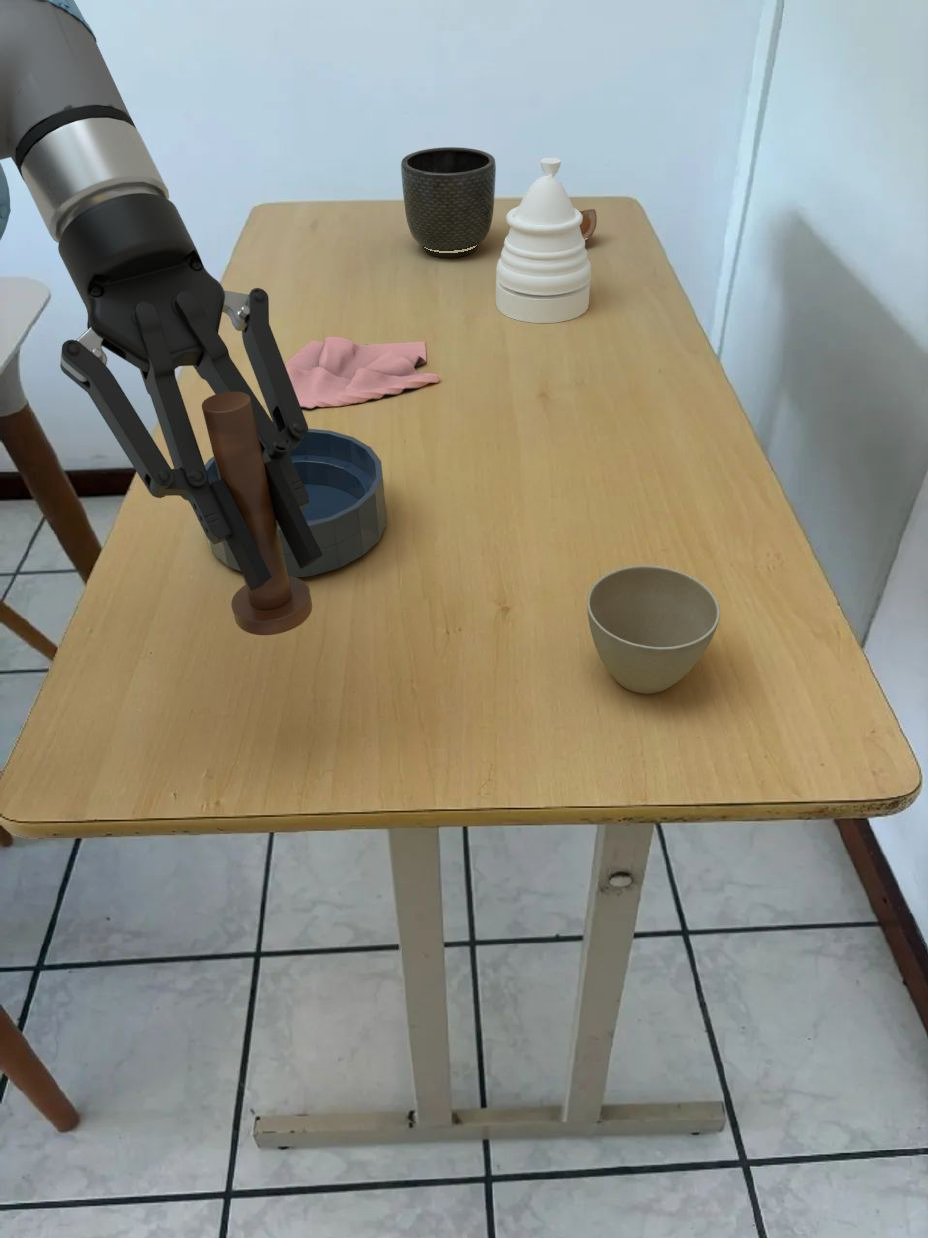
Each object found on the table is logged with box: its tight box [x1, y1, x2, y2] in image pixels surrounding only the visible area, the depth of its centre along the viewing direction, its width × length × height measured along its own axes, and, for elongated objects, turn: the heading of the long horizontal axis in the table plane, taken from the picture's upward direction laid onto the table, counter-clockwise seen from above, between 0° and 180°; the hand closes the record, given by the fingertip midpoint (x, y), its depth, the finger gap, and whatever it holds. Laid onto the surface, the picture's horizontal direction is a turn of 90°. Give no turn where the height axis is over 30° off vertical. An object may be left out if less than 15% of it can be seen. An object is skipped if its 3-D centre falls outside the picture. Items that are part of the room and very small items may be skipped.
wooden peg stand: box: [201, 392, 313, 636], centre depth 60 cm, size 5×5×15 cm
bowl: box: [204, 428, 388, 578], centre depth 91 cm, size 17×17×6 cm
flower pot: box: [586, 564, 721, 695], centre depth 75 cm, size 10×10×7 cm
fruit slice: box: [579, 208, 598, 239], centre depth 148 cm, size 8×7×5 cm
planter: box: [400, 146, 497, 259], centre depth 144 cm, size 14×14×13 cm
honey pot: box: [495, 157, 592, 324], centre depth 127 cm, size 13×13×18 cm
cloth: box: [284, 336, 440, 410], centre depth 117 cm, size 20×22×2 cm
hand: (286, 572), depth 59 cm, fingers closed on wooden peg stand, 3 cm apart
